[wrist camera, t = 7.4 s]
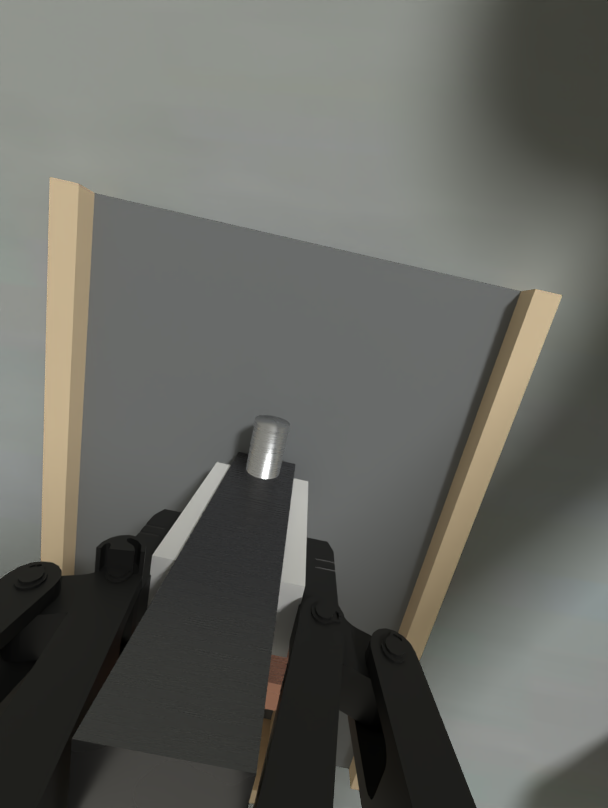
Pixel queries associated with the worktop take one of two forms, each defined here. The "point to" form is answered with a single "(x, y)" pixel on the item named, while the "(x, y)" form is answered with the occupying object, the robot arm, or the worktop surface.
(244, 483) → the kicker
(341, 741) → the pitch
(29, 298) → the worktop surface
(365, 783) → the robot arm
